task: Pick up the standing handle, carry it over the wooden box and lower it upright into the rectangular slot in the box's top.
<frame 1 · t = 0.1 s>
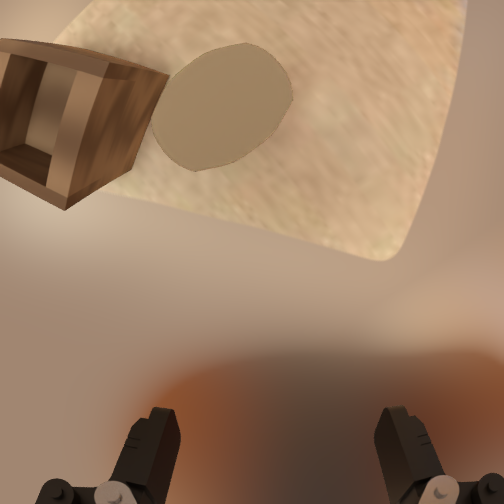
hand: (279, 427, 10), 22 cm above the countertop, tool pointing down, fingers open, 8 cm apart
handle: (243, 105, 26), on the countertop
wooden box: (102, 105, 25), on the countertop
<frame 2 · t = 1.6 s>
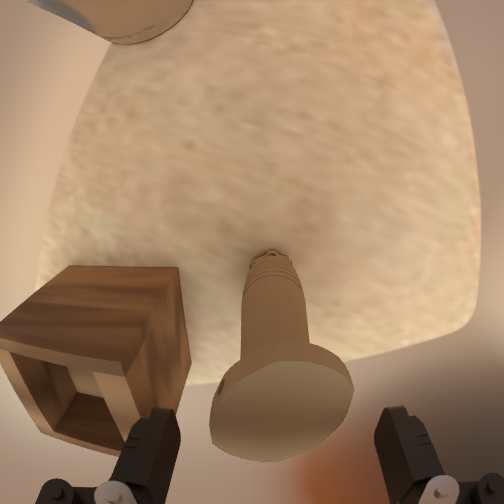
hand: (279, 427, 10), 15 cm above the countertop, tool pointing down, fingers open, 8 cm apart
handle: (271, 266, 25), on the countertop
wooden box: (128, 316, 27), on the countertop
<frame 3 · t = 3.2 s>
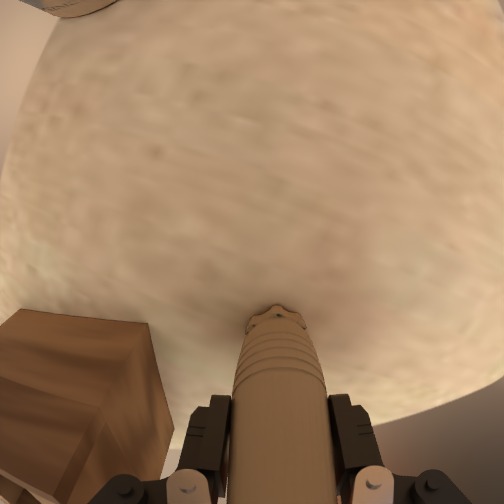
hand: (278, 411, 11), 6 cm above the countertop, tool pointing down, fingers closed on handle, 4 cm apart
handle: (276, 326, 17), on the countertop, touching gripper
wooden box: (93, 374, 19), on the countertop
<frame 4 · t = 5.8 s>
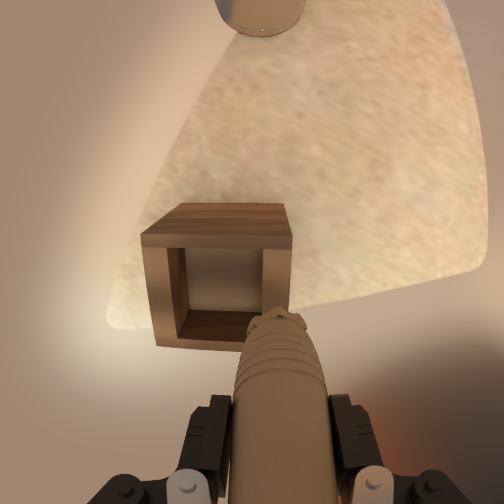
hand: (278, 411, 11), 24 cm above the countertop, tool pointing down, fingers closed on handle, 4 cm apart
handle: (276, 326, 17), point 18 cm above the countertop, touching gripper
wooden box: (232, 247, 35), on the countertop
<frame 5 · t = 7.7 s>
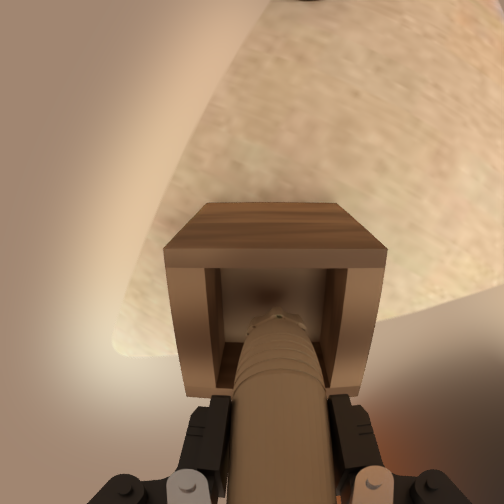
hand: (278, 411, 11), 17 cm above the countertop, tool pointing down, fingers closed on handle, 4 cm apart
handle: (276, 327, 17), point 11 cm above the countertop, touching gripper
wooden box: (271, 258, 28), on the countertop
when the fingers open (14 cm above the countertop, at t = 8.9 s): handle stays where it is, resting on wooden box.
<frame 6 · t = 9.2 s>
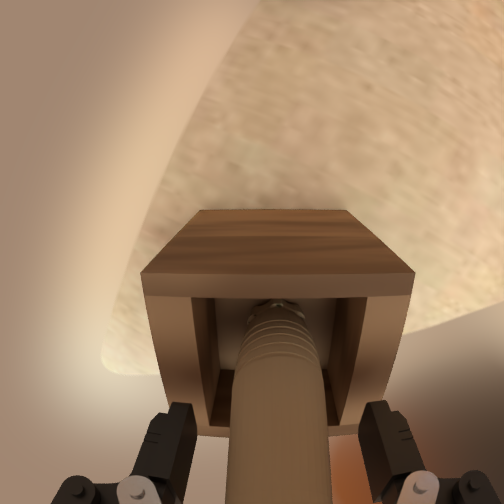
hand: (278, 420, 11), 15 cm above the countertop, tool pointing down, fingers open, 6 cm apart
handle: (276, 316, 18), point 7 cm above the countertop, touching wooden box
wooden box: (273, 272, 24), on the countertop
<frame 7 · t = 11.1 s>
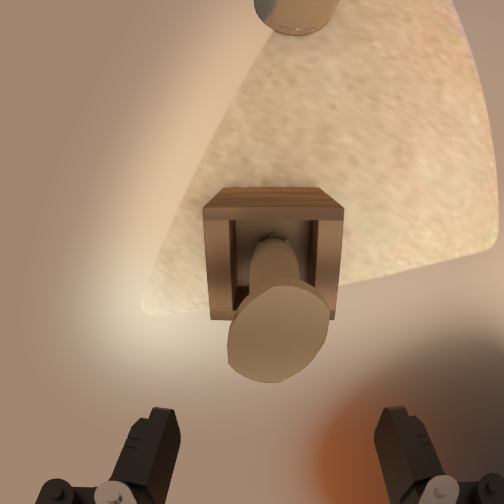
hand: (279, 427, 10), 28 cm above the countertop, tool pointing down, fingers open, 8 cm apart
handle: (273, 247, 30), point 7 cm above the countertop, touching wooden box
wooden box: (271, 229, 37), on the countertop
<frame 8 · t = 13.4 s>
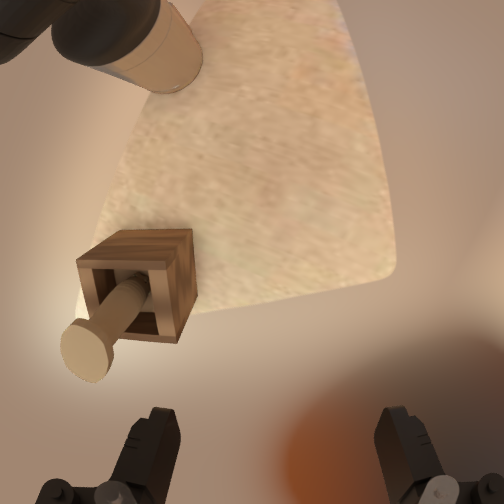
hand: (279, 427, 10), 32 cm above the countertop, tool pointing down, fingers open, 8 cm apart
handle: (141, 282, 37), point 7 cm above the countertop, touching wooden box
wooden box: (157, 263, 43), on the countertop
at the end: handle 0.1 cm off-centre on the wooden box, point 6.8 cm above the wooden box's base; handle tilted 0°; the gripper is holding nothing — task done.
